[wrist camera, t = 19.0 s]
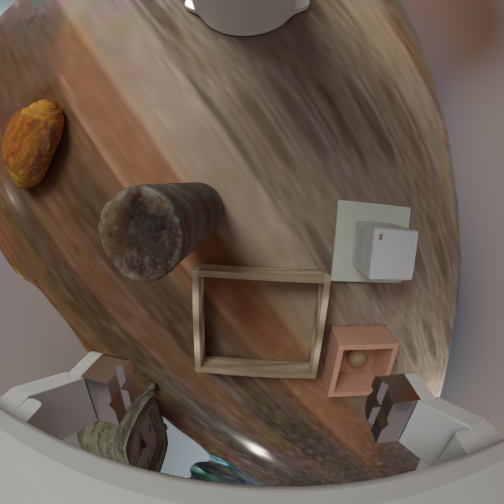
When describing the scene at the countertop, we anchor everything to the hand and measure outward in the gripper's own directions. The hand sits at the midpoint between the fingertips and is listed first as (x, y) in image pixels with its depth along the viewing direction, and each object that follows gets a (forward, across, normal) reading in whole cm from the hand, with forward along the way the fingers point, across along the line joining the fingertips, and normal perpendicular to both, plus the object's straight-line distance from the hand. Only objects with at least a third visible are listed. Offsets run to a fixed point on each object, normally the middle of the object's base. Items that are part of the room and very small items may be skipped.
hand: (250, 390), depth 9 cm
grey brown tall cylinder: (+31, +9, -3) cm, 33 cm away
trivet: (+31, -15, 0) cm, 34 cm away
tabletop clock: (+31, +20, +32) cm, 49 cm away
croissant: (+32, +40, -15) cm, 53 cm away
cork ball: (+29, -15, +17) cm, 37 cm away
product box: (+31, -15, 0) cm, 34 cm away
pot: (+31, -15, +17) cm, 38 cm away
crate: (+31, 0, +12) cm, 33 cm away
